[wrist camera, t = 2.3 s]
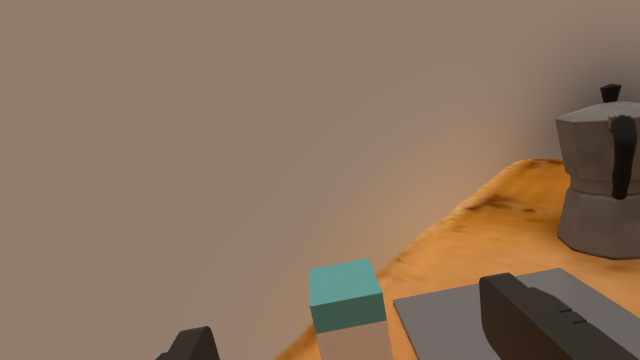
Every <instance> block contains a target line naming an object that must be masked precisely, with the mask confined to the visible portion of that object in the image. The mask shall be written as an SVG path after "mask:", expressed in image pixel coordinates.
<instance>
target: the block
mask: <svg viewBox="0 0 640 360" xmlns="http://www.w3.org/2000/svg"><path fill="white" fill-rule="evenodd" d="M309 285H310V309H311V313H312V318H313V322H314V327H315V331H316V336H317V340H318V345H319V349H320V354H321V359H322V360H393V357H392V351H391V344H390V338H389V332H388V325H387V319H386V313H385V306H384V300H383V294H382V291H381V288H380V286H379V283H378V281H377V278H376V276H375V274H374V271H373V269H372V266H371V264H370V261H369V259H368V258H366V259H361V260H356V261H351V262H345V263H340V264H335V265H330V266H325V267H319V268H314V269H309Z"/></svg>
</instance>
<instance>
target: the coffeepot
mask: <svg viewBox="0 0 640 360" xmlns="http://www.w3.org/2000/svg"><path fill="white" fill-rule="evenodd" d="M600 89H601V93H602V98H603V103H600V104H597V105H594V106H591V107H587V108H584V109H581V110H578V111H575V112H572V113H569V114H566V115H563V116H561V117H558V118H556V119H555V121H556V126H557V131H558V136H559V141H560V146H561V151H562V156H563V162H564V167H565V172H567V173H568V174H570V175H571V180H570V187H569V188H568V190H567V192H566V197H565V201H564V206H563V210H562V215H561V219H560V224H559V228H558V233H557V236H558V237H559V238H560V239H561V240H562V241H563V242H564V244H566V245H567V246H569V247H570V248H573V249H575V250H577V251H580V252H582V253H586V254H589V255H593V256H599V257H604V258H612V259H638V258H640V103H633V102H622V101H617V100H618V96H619V93H620V89H621V85H617V84H609V85H606V86H604V87H602V88H600Z"/></svg>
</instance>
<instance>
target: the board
mask: <svg viewBox="0 0 640 360" xmlns="http://www.w3.org/2000/svg"><path fill="white" fill-rule="evenodd" d="M515 277H516V278H517V279H518V280H519V281H521V282H522V283H523V284H524V285H526V286H527V287H528V288H530V287H535V288H537V289H540V290H542V291H544V292H546V293H549V294H551V295H553V296H555V297H557V298H558V299H559V300H561V301H562V302H563V303H565V304H566V305H567V306H569V307H570V308H571V309H572V311H573V312H577V313H578V314H579V315H581V316H582V317H583V318H585V319H586V320H587V322H588V323H591V324H593V325H594V326H595V327H597V328H598V329H599V330H601V331H602V332H603V333H605V334H606V335H607V336H609V337H610V338H611V339H613V340H614V341H615V342H617V343H618V344H619V345H621V346H622V347H623V348H625V349H626V350H627V351H629V352H630V353H631V354H633V355H634V356H635V357H637V358H638V359H639V360H640V318H638V317H637V316H635V315H634V314H632V313H630V312H629V311H627V310H626V309H624V308H623V307H621V306H619V305H618V304H616V303H615V302H613V301H612V300H610V299H608V298H607V297H605V296H604V295H602V294H601V293H599V292H597V291H596V290H594V289H593V288H591V287H590V286H588V285H586V284H585V283H583V282H582V281H580V280H579V279H577V278H575V277H574V276H572V275H571V274H569V273H568V272H566V271H564V270H563V269H561V268H556V269H551V270H546V271H541V272H536V273H531V274H525V275H520V276H515ZM393 303H394V306H395V308H396V310H397V312H398V315H399V317H400V319H401V321H402V324H403V326H404V328H405V330H406V332H407V335H408V337H409V339H410V341H411V344H412V346H413V348H414V350H415V353H416V355H417V357H418V359H419V360H501V359H500V358H499V356H498V355H497V354H496V353H495V351H494V350H493V349H492V347H491V346H490V344H489V343H488V341H487V339H486V337H485V334H484V331H483V327H482V321H481V306H480V291H479V284H474V285H468V286H463V287H458V288H453V289H448V290H442V291H437V292H432V293H427V294H422V295H417V296H411V297H406V298H401V299H396V300H393Z"/></svg>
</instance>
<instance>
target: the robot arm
mask: <svg viewBox="0 0 640 360" xmlns="http://www.w3.org/2000/svg"><path fill="white" fill-rule="evenodd" d="M479 291H480V306H481V321H482V327H483V331H484V334H485V337H486V339H487V341H488V343H489V344H490V346H491V347H492V349H493V350H494V351H495V353H496V354H497V355H498V356H499V358H500V359H501V360H639V359H638V358H637V357H635V356H634V355H633V354H631V353H630V352H629V351H627V350H626V349H625V348H623V347H622V346H621V345H619V344H618V343H617V342H615V341H614V340H613V339H611V338H610V337H609V336H607V335H606V334H605V333H603V332H602V331H601V330H599V329H598V328H597V327H595V326H594V325H593V324H591V323H588V322H587V320H586V319H585V318H583V317H582V316H581V315H579V314H578V313H577V312H573V311H572V309H571V308H570V307H569V306H567V305H566V304H565V303H563V302H562V301H561V300H559V299H558V298H557V297H555V296H553V295H551V294H549V293H546V292H544V291H542V290H540V289H537V288H535V287H530V288H528V287H527V286H526V285H524V284H523V283H522V282H521V281H519V280H518V279H517V278H516V277H514V276H513V275H512V274H510V273H502V274H497V275H491V276H486V277H481V278H480V281H479ZM156 360H220V358H219V355H218V352H217V348H216V345H215V341H214V337H213V334H212V331H211V329H210V328H209V327H208V326H205V327H200V328H194V329H188V330H183V331H181V332H179V334H178V335H177V337H176V339H175V340H174V342H173V344H172V346H171V348H170V349H169V351H168V352H167V353H162V354H161V355H160V356H159V357H158V358H157V359H156Z"/></svg>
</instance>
